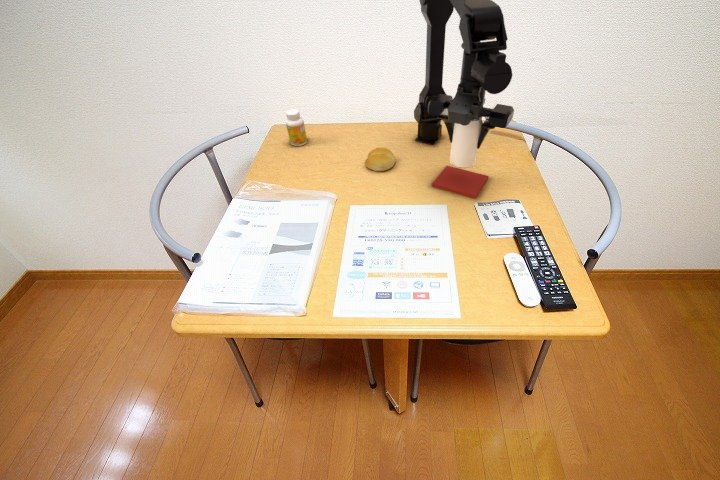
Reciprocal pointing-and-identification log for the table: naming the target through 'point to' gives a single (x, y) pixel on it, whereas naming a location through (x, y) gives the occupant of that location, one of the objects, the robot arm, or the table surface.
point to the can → (465, 144)
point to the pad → (460, 181)
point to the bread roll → (380, 159)
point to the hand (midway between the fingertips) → (465, 145)
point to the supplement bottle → (295, 128)
